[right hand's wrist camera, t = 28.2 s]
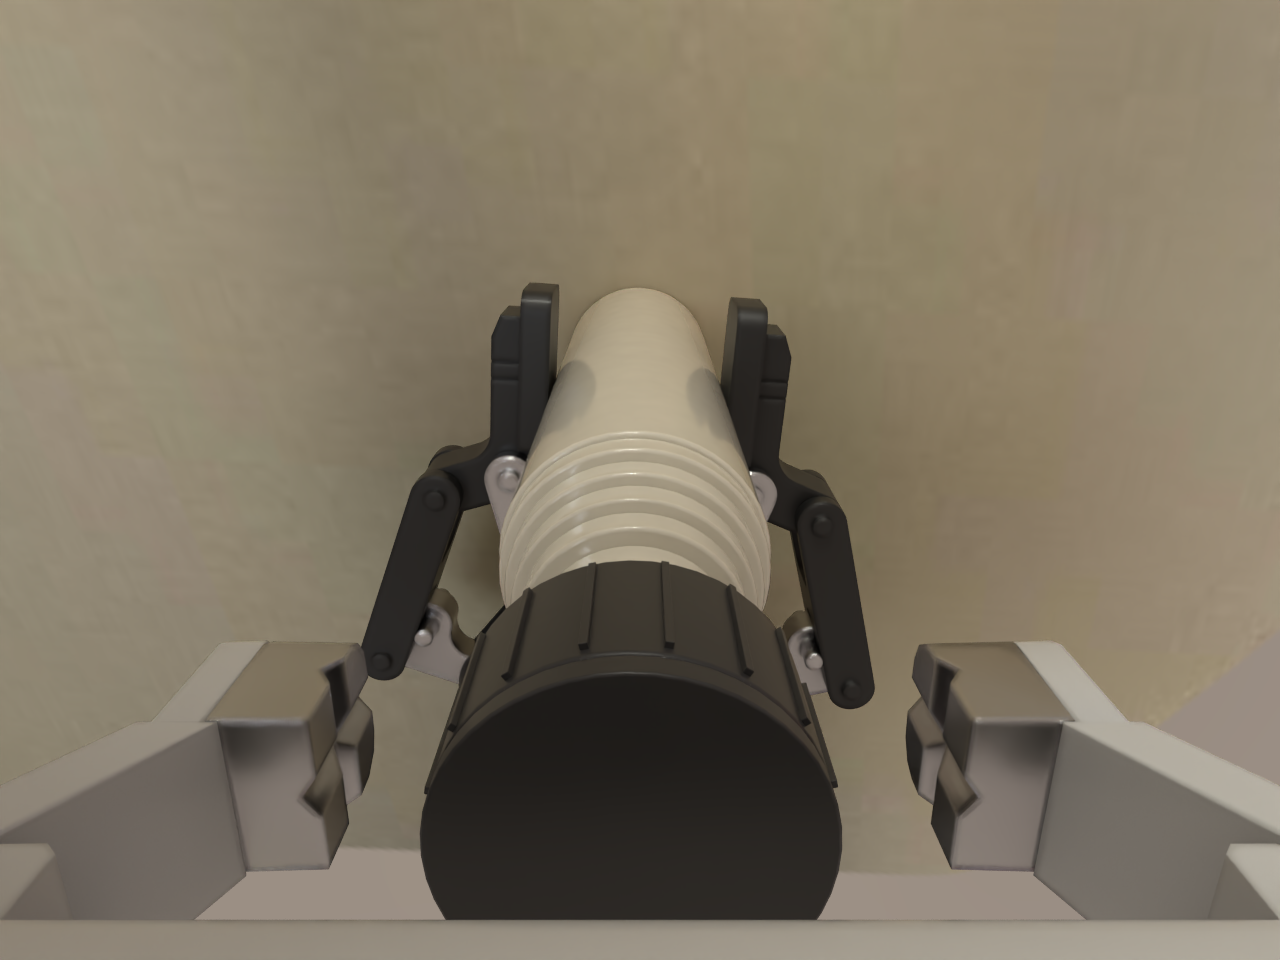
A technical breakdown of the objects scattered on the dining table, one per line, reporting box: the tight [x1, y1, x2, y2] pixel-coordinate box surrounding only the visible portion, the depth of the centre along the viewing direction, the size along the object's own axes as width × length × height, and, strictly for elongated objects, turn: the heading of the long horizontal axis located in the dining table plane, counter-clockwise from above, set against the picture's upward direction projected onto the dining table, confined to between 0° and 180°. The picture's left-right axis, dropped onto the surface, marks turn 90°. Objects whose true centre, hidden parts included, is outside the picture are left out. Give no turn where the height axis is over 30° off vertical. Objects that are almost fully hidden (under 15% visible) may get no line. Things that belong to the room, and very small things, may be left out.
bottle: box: [499, 288, 771, 612], centre depth 18 cm, size 4×4×20 cm
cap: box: [420, 560, 842, 920], centre depth 9 cm, size 4×4×2 cm
